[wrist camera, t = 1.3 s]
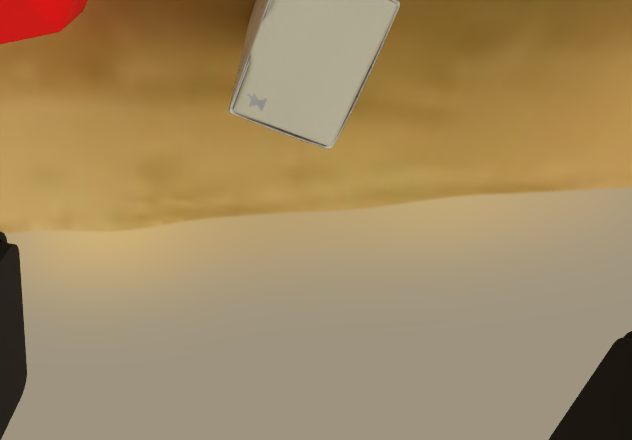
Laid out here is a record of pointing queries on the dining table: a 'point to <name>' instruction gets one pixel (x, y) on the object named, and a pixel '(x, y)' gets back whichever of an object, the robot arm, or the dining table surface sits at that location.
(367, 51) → the skincare box
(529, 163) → the dining table surface
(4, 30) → the ball
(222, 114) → the dining table surface
